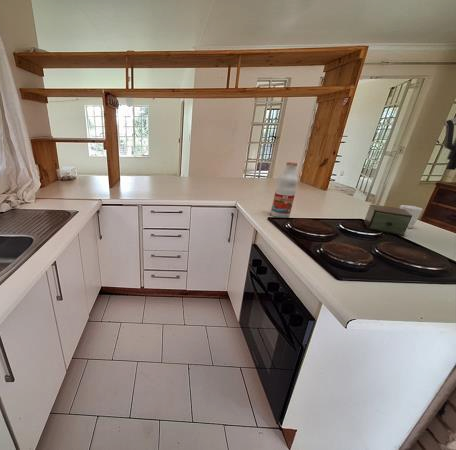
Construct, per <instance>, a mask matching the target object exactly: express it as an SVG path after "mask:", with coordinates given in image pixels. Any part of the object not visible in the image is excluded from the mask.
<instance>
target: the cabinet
mask: <svg viewBox="0 0 456 450" xmlns="http://www.w3.org/2000/svg"><path fill="white" fill-rule="evenodd" d="M376 212H380V213H386V214H393V215H400V216H406V217H410V220H411V218H412V215H411V214H410V213H408V212H407V211H406V210H405V209H401V208H400V207H395V206H394V207H393V206H385V205H379V204H371V203H370V204H369V207H368V210H367V212H366V215H365V218H364V221H363V224H364V225H365V227H366V229H367V230H371V231H375V232H381V233H386V234H391V235H397V236H403V237H404V235H405V234H406V231H407V230H408V228H407V227H408V224H409V222H410V220H409V222H408V224H407V227H406V229H405V231H404V234H398V233H393V232H387V231H382V230H376V229H371V228H370V226H371V223H372V221H373V218H374V216H375V213H376ZM367 226H368V227H367Z"/></svg>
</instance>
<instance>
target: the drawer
mask: <svg viewBox="0 0 456 450" xmlns="http://www.w3.org/2000/svg"><path fill="white" fill-rule="evenodd" d="M409 220H410V217H406V216H400V215H393V214H386V213H380V212H376V213H375V216H374V218H373V221H372V223H371V226H370V228H371V229H376V230H382V231H387V232H393V233H398V234H404V231H405V229H406V227H407V224H408V222H409ZM406 230H407V229H406ZM405 232H406V231H405ZM404 235H405V234H404Z"/></svg>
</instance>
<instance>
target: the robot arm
mask: <svg viewBox="0 0 456 450" xmlns="http://www.w3.org/2000/svg"><path fill="white" fill-rule="evenodd" d="M455 124H456V117H453V118H451V119H447V120H445V121H444V125H445V137H444V149H447V150H449V152H448V155H447V157H446V159H447V160H449V161H448V164H447V165H446V168H445V169H446V170H452V171H455V170H456V137H455V138H454V132H455ZM453 140H454V141H453Z"/></svg>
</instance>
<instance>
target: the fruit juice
mask: <svg viewBox="0 0 456 450" xmlns="http://www.w3.org/2000/svg"><path fill="white" fill-rule="evenodd" d="M297 167H298V163H297V162H287V161H286V162H285V168H284V170H283V171H282V173H280V176H279V177H278V180H277V186H276V187H275V191H274V194H273V199H272V205H271V209H270V215H271V216H273V217H277V218H280V219H281V218H282V219H287V218H289V217H290V215H291V213H292V208H293V204H294V200H295V197H296V191H297V190H296V187H297V185H298V183H299V178H298V174H297Z"/></svg>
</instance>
